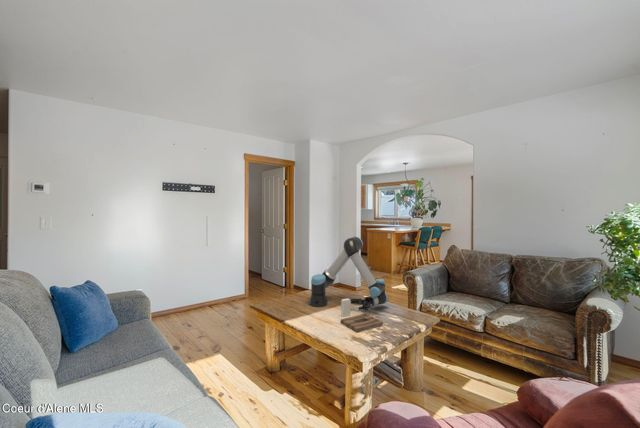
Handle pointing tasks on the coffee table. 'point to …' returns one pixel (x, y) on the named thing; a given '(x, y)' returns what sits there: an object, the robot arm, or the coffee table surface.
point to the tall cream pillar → (345, 307)
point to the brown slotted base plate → (357, 326)
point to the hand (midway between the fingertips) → (349, 306)
